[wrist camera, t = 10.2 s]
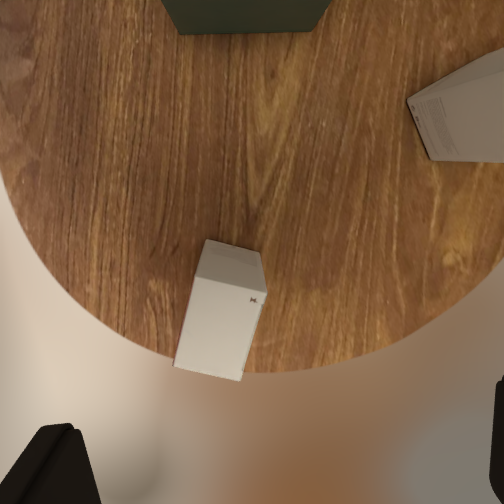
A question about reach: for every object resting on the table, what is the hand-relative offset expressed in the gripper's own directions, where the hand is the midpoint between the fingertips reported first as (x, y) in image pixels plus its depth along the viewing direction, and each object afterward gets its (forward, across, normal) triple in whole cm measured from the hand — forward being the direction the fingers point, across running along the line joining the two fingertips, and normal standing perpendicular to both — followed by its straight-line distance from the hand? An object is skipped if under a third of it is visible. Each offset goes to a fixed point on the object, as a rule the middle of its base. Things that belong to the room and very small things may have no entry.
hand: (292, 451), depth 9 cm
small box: (+30, +4, +6) cm, 30 cm away
